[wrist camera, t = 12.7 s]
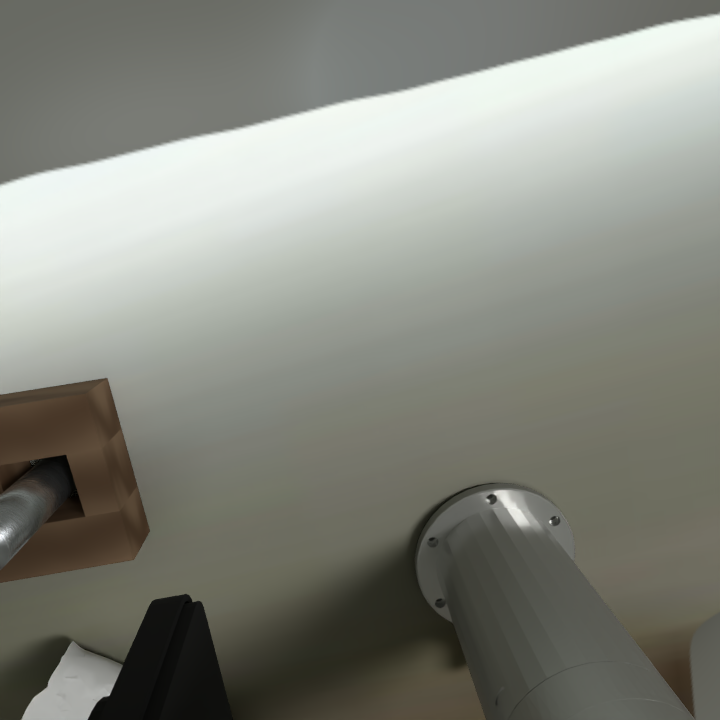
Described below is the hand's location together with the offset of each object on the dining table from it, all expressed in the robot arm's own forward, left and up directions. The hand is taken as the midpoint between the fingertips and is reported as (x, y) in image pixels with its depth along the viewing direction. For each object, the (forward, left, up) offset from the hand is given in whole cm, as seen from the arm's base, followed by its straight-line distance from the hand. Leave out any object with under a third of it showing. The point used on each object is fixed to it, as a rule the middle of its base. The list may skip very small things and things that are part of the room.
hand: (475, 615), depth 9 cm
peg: (-7, +22, -28) cm, 36 cm away
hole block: (-7, +22, -28) cm, 37 cm away
